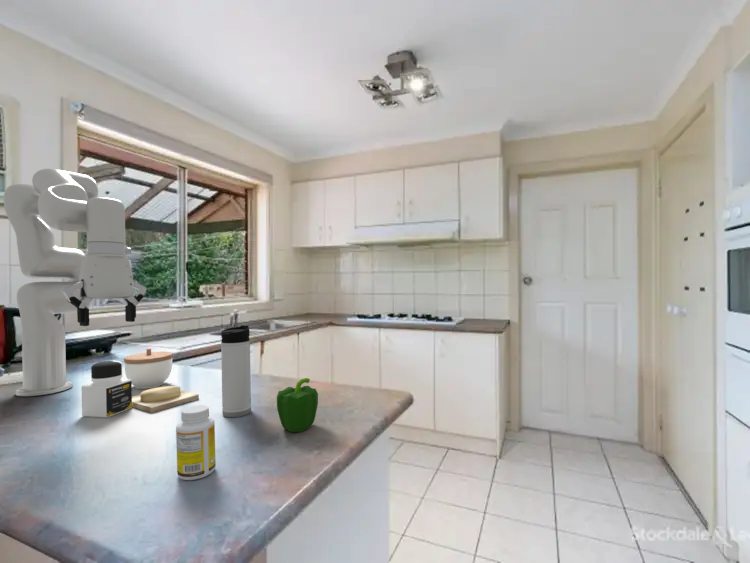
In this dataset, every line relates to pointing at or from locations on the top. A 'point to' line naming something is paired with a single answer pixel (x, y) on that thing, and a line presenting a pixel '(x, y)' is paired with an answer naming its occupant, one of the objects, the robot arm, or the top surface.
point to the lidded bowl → (148, 368)
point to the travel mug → (236, 371)
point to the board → (163, 403)
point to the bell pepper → (297, 406)
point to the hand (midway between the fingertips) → (108, 323)
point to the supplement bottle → (195, 443)
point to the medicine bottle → (106, 391)
